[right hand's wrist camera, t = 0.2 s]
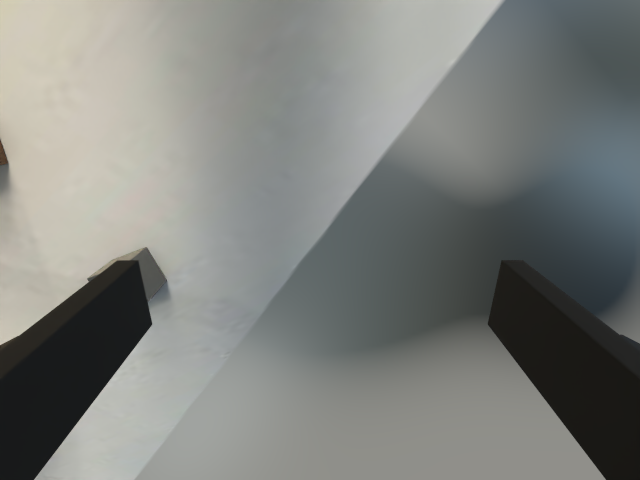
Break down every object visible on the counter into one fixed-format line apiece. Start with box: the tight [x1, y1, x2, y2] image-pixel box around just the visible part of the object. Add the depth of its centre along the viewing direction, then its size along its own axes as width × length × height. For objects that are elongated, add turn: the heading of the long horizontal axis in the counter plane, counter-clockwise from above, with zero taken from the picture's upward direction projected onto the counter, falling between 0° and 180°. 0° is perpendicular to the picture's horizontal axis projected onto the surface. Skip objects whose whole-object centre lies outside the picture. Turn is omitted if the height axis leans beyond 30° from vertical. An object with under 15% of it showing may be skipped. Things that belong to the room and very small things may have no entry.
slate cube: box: [87, 247, 167, 302], centre depth 41 cm, size 5×5×5 cm
